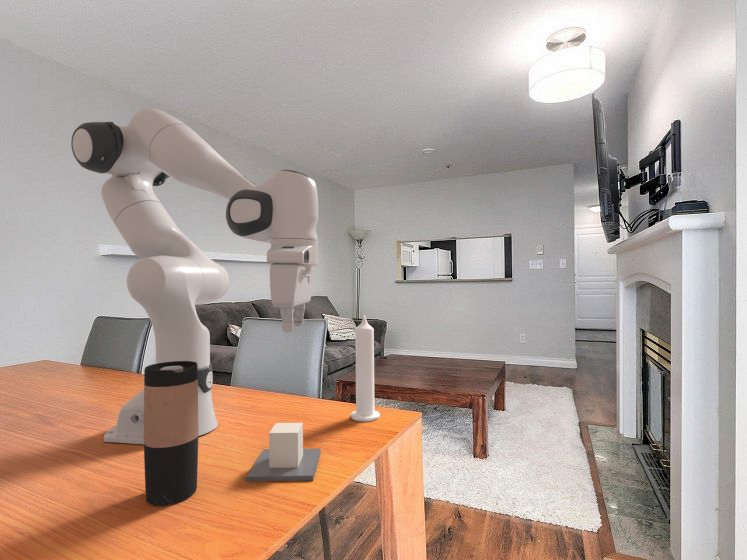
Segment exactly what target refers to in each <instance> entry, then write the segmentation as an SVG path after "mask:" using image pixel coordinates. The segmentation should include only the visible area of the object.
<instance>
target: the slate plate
mask: <svg viewBox="0 0 747 560" xmlns="http://www.w3.org/2000/svg"><path fill="white" fill-rule="evenodd" d="M321 454H322V449H321V447H320V448H303V457H302V459H301V462H300V464H299V467H296V468H269V448H263V449H262V451H261V453H260V454H259V455H258V458H257V459H256V460H255V462H254V464H253V466H252V467H251V469H250V470H249V471H248V473H247V475H246V478H245V479H246V481H245V482H287V481H288V482H290V481H293V482H295V481H296V482H297V481H300V482H301V481H302V482H303V481H314V478H315V474H316V472H317V468H318V464H319V461H320V457H321Z"/></svg>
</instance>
